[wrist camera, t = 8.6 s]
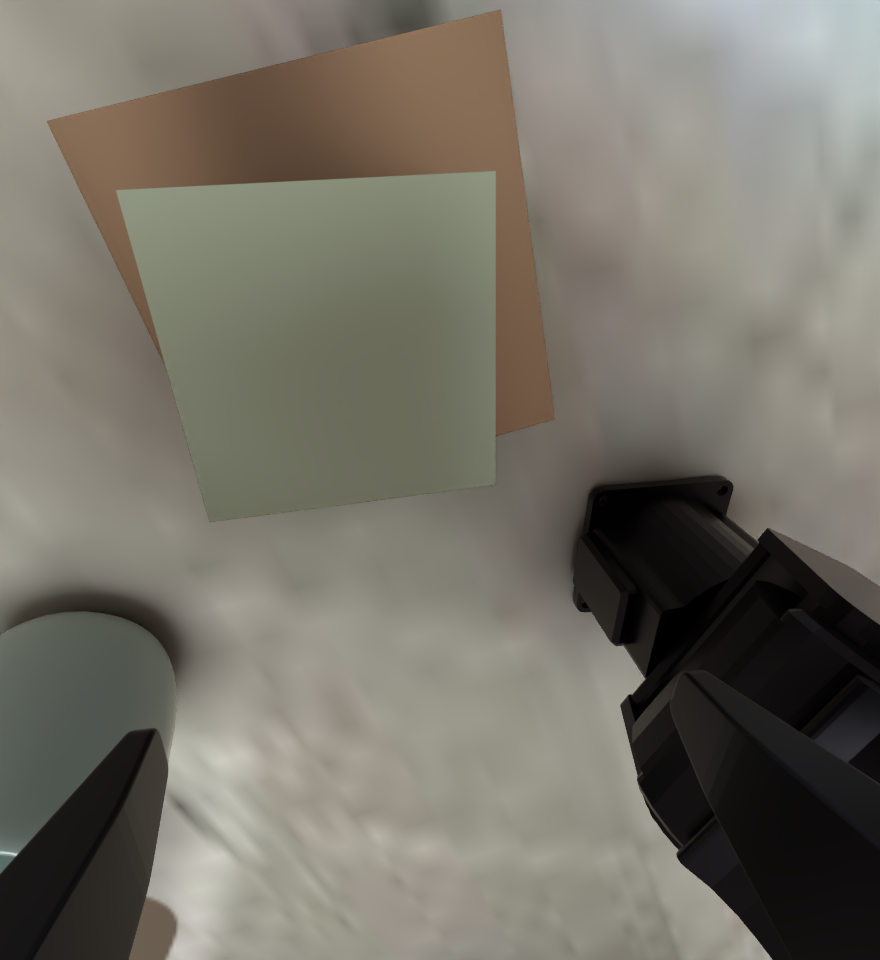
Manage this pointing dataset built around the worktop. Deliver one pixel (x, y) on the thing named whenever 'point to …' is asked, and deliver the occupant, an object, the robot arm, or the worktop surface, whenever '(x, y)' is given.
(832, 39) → the worktop surface
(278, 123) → the walnut block
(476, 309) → the green cube
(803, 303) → the worktop surface
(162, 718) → the cup
